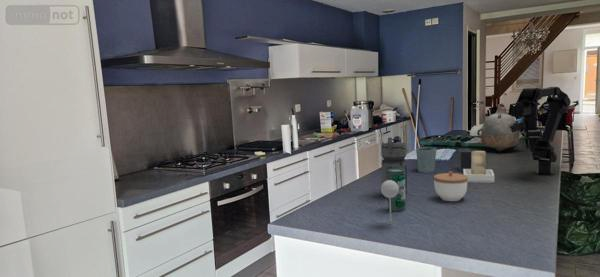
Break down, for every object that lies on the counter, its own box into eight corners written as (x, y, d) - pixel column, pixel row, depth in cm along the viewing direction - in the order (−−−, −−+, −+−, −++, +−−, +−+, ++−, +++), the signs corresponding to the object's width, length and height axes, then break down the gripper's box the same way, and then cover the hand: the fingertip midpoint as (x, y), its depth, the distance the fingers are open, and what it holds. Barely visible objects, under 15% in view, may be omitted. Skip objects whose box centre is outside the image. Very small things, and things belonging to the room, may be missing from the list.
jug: (484, 154, 253) (484, 105, 249) (475, 149, 274) (475, 103, 270) (527, 153, 248) (528, 103, 245) (515, 148, 269) (515, 101, 266)
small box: (474, 172, 209) (474, 151, 207) (460, 172, 210) (460, 151, 209) (469, 167, 219) (469, 148, 218) (456, 167, 220) (456, 148, 219)
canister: (474, 175, 197) (474, 150, 196) (487, 176, 193) (487, 151, 192) (469, 177, 193) (469, 152, 192) (481, 179, 189) (482, 153, 188)
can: (402, 212, 151) (401, 172, 150) (386, 210, 155) (385, 170, 153) (407, 207, 157) (406, 168, 155) (391, 205, 160) (390, 167, 158)
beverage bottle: (411, 191, 178) (410, 134, 175) (402, 199, 167) (401, 138, 164) (388, 189, 184) (387, 133, 180) (378, 197, 172) (376, 137, 169)
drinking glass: (415, 172, 214) (414, 149, 212) (417, 168, 223) (417, 146, 222) (435, 173, 210) (435, 150, 208) (437, 169, 219) (437, 147, 218)
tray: (463, 176, 201) (463, 168, 201) (491, 176, 197) (491, 169, 197) (464, 182, 190) (464, 174, 189) (494, 183, 185) (494, 175, 185)
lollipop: (379, 221, 143) (378, 179, 141) (396, 220, 143) (395, 177, 141) (384, 227, 137) (383, 183, 135) (402, 226, 137) (401, 181, 135)
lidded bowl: (451, 205, 156) (451, 176, 155) (427, 198, 168) (426, 171, 166) (474, 199, 162) (474, 171, 161) (449, 193, 173) (449, 167, 172)
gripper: (507, 114, 199) (507, 146, 201) (513, 118, 182) (512, 153, 184) (534, 114, 195) (533, 146, 197) (542, 117, 178) (541, 153, 180)
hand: (529, 149), depth 190 cm, fingers open, 9 cm apart
